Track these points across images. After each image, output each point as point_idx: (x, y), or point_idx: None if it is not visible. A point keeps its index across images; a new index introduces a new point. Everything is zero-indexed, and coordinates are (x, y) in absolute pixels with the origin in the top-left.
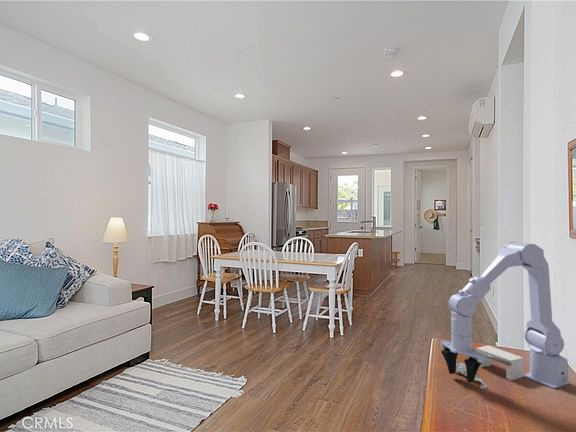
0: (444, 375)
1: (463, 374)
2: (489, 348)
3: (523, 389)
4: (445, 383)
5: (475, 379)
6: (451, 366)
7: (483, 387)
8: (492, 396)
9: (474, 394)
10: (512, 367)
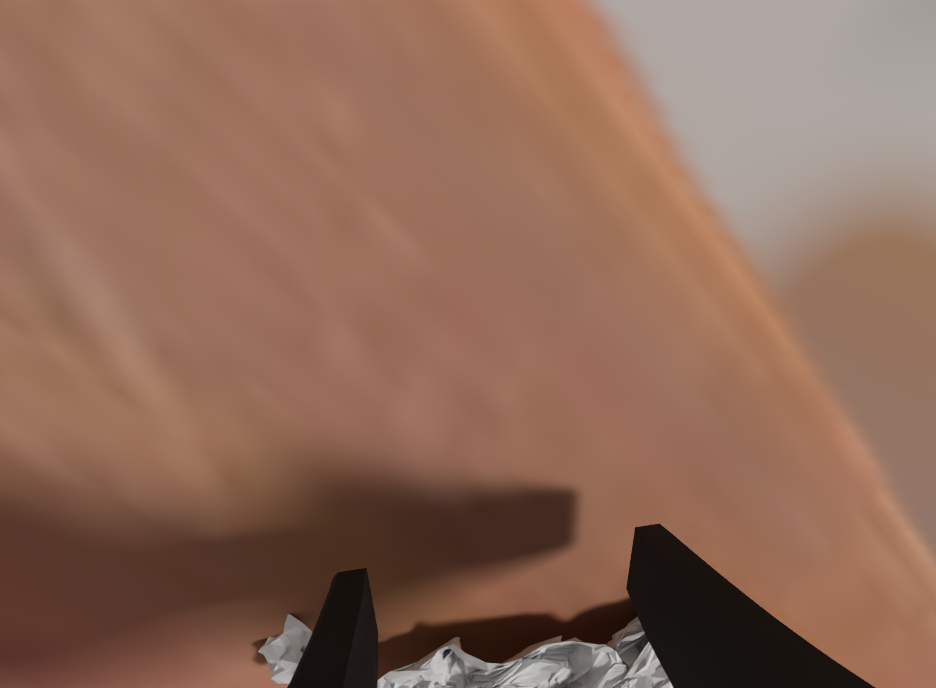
0: (699, 476)
1: (572, 640)
2: None
3: None
4: (555, 341)
5: (424, 673)
6: (699, 638)
7: (291, 641)
8: (68, 601)
9: (159, 461)
10: None
